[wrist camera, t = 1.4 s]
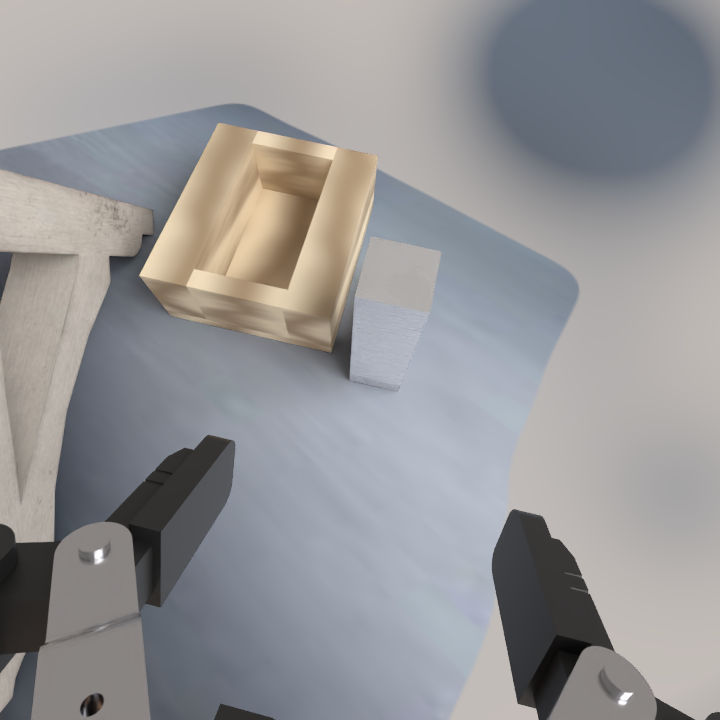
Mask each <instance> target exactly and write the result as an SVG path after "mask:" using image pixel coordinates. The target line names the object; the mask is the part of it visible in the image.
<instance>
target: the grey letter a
mask: <svg viewBox="0 0 720 720" xmlns="http://www.w3.org/2000/svg"><path fill="white" fill-rule="evenodd" d="M153 234H154V221H153V210H150V209H147V208H143V207H139V206H136V205H132V204H128V203H124V202H121V201H117V200H113V199H110V198H106V197H102V196H99V195H95V194H91V193H87V192H84V191H80V190H76V189H73V188H69V187H65V186H61V185H58V184H54V183H50V182H47V181H43V180H39V179H36V178H32V177H28V176H24V175H21V174H17V173H13V172H10V171H6V170H2V169H0V252H13V255H12V261H11V267H10V271H9V275H8V278H7V282H6V285H5V289H4V292H3V296H2V299H1V303H0V524H4V525H6V526H8V527H10V528H11V529H12V530H13V532H14V533H15V539H16V543H26V542H54V516H55V486H56V479H57V473H58V466H59V460H60V453H61V447H62V440H63V434H64V427H65V421H66V414H67V409H68V406H69V402H70V399H71V395H72V392H73V388H74V385H75V381H76V378H77V374H78V371H79V367H80V364H81V361H82V357H83V354H84V350H85V347H86V343H87V340H88V337H89V334H90V332H91V329H92V327H93V324H94V322H95V320H96V317H97V315H98V312H99V310H100V307H101V305H102V302H103V300H104V297H105V295H106V293H107V290H108V288H109V285H110V283H111V279H110V264H109V256H128V257H134V256H135V255H136V254H138V252H139V250H140V248H141V246H142V235H153ZM25 654H26V653H16V654H15V656H14V657H13V658H12V659H11V661H10V662H9V663H8V664H7V666H6V667H5V668H4V669H3V671H2V672H1V673H0V713H1V711H2V710H3V709H4V707H5V706H6V705H7V704H8V702H9V701H10V700H11V699H12V697H13V691H14V685H15V679H16V676H17V673H18V671H19V668H20V665H21V663H22V660H23V657H24V655H25Z"/></svg>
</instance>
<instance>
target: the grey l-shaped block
mask: <svg viewBox="0 0 720 720" xmlns="http://www.w3.org/2000/svg"><path fill="white" fill-rule="evenodd" d="M440 257H441V251H436V250H431V249H427V248H422V247H418V246H413V245H408V244H404V243H399V242H394V241H390V240H385V239H380V238H376V237H371V238H370V242H369V246H368V249H367V253H366V257H365V260H364V264H363V268H362V271H361V275H360V279H359V282H358V286H357V290H356V293H355V298H354V314H353V331H352V347H351V363H350V379H349V381H354V382H358V383H362V384H366V385H371V386H375V387H379V388H384V389H388V390H392V391H397V392H398V390H399V387H400V385H401V383H402V380H403V378H404V375H405V373H406V370H407V368H408V365H409V363H410V361H411V358H412V356H413V353H414V351H415V348H416V346H417V344H418V341H419V339H420V336H421V334H422V331H423V329H424V326H425V324H426V322H427V319H428V317H429V314H430V310H431V305H432V299H433V294H434V289H435V283H436V278H437V273H438V267H439V262H440Z"/></svg>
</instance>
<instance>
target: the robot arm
mask: <svg viewBox="0 0 720 720" xmlns="http://www.w3.org/2000/svg"><path fill="white" fill-rule="evenodd" d="M234 455H235V442H234V441H232V440H228V439H224V438H220V437H216V436H211V435H207V436H206V437H205V438H204V439H203V440H202V441H201V443H200V444H199V445H198V446H197V447H196V448H195V449H194V450H192V449H188V448H183V449H182V450H180V451H178V452H176V453H174V454H172V455H170V456H168V457H167V458H166V459H165V460H164V461H163V462H162V463H161V464H160V465H159V466H158V467H157V468H156V470H155V472H154V471H153V472H152V473H151V474H150V475H149V476H148V477H147V479H146V481H145V482H143V483H142V484H141V485H140V486H139V487H138V488H137V489H136V490H135V491H134V492H133V493H132V494H131V495H130V496H129V497H128V498H127V499H126V500H125V501H124V502H123V503H122V504H121V505H120V506H119V508H118V509H117V510H116V511H115V512H114V513H113V514H112V515H111V516H110V517H109V518H108V519H107V520H106V521H105V522H99V523H93V524H90V525H86V526H84V527H81V528H79V529H77V530H75V531H74V532H72V533H70V534H69V535H68V536H67V537H65V538H64V539H63V540H62V541H56V542H26V543H16V539H15V533H14V532H13V530H12V529H11V528H10V527H8V526H6V525H4V524H0V673H1V672H2V671H3V669H4V668H5V667H6V666H7V664H8V663H9V662H10V661H11V659H12V658H13V657H14V656H15V654H16V653H26V652H37V651H39V655H38V662H37V670H36V680H35V689H34V698H33V707H32V716H31V720H150V709H149V699H148V688H147V677H146V667H145V656H144V645H143V634H142V624H141V616H140V614H139V612H140V611H141V609H142V608H143V606H144V605H145V603H146V604H150V605H154V606H157V607H161V606H162V604H163V603H164V601H165V600H166V598H167V596H168V595H169V593H170V592H171V590H172V588H173V587H174V585H175V584H176V582H177V580H178V579H179V577H180V576H181V574H182V572H183V571H184V569H185V568H186V566H187V565H188V563H189V561H190V560H191V558H192V557H193V555H194V553H195V552H196V550H197V549H198V547H199V545H200V544H201V542H202V541H203V539H204V537H205V536H206V534H207V533H208V531H209V530H210V528H211V526H212V525H213V523H214V522H215V520H216V518H217V517H218V515H219V514H220V512H221V510H222V509H223V507H224V506H225V504H226V502H227V499H228V497H229V494H230V491H231V486H232V478H233V467H234ZM492 574H493V579H494V584H495V590H496V595H497V600H498V605H499V610H500V615H501V620H502V625H503V630H504V636H505V641H506V646H507V650H508V656H509V661H510V666H511V671H512V676H513V681H514V686H515V691H516V697H517V702H518V704H521V705H525V706H529V707H533V708H536V709H537V713H538V718H539V720H695V719H693V718H691V717H689V716H687V715H686V714H684V713H682V712H680V711H678V710H677V709H675V708H673V707H671V706H669V705H668V704H666V703H664V702H662V701H661V700H659V699H657V698H656V697H654V694H653V692H652V690H651V688H650V686H649V685H648V683H647V681H646V680H645V678H644V677H643V676H642V675H641V673H640V672H639V671H638V670H637V669H636V668H635V667H634V666H633V665H632V664H631V663H630V662H629V661H627V660H626V659H625V658H623V657H622V656H620V655H619V654H617V653H616V652H615V651H614V649H613V646H612V644H611V642H610V639H609V637H608V635H607V633H606V630H605V628H604V626H603V623H602V621H601V619H600V616H599V614H598V612H597V609H596V607H595V605H594V602H593V600H592V598H591V595H590V594H588V589H587V586H586V584H585V581H584V579H582V575H581V572H580V570H579V568H578V565H577V563H576V561H575V558H574V557H573V555H572V554H571V553H570V552H569V551H568V549H567V548H566V547H565V546H564V545H563V543H562V542H561V541H560V540H558V539H554V538H551V535H550V533H549V530H548V528H547V525H546V523H545V520H544V519H543V517H542V516H540V515H535V514H531V513H527V512H523V511H519V510H515V509H514V510H512V511H511V512H510V514H509V516H508V518H507V521H506V523H505V525H504V528H503V530H502V533H501V535H500V537H499V540H498V542H497V544H496V547H495V549H494V553H493V558H492ZM214 720H274V719H273V718H271V717H267V716H263V715H260V714H256V713H252V712H249V711H245V710H241V709H238V708H234V707H230V706H227V705H223V704H220V706H219V709H218V711H217V714H216V716H215V719H214ZM705 720H720V712H715V713H712V714H710V715H709V716H708V717H707V718H706V719H705Z"/></svg>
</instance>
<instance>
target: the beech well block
mask: <svg viewBox="0 0 720 720" xmlns="http://www.w3.org/2000/svg"><path fill="white" fill-rule="evenodd" d="M377 157H378V156H377V155H372V154H367V153H362V152H358V151H353V150H348V149H343V148H338V147H333V146H329V145H324V144H319V143H314V142H309V141H304V140H300V139H295V138H290V137H285V136H280V135H275V134H270V133H266V132H261V131H256V130H251V129H246V128H241V127H237V126H232V125H227V124H222V123H218V125H217V127H216V129H215V131H214V133H213V135H212V136H211V138H210V140H209V142H208V144H207V146H206V148H205V150H204V152H203V154H202V156H201V158H200V160H199V161H198V163H197V165H196V167H195V169H194V171H193V173H192V175H191V177H190V179H189V181H188V183H187V185H186V186H185V188H184V190H183V192H182V194H181V196H180V198H179V200H178V202H177V204H176V206H175V208H174V210H173V211H172V213H171V215H170V217H169V219H168V221H167V223H166V225H165V227H164V229H163V231H162V233H161V234H160V236H159V238H158V240H157V242H156V244H155V246H154V248H153V250H152V252H151V254H150V256H149V258H148V259H147V261H146V263H145V265H144V267H143V269H142V271H141V273H140V275H139V276H140V277H141V279H142V280H143V281H144V282H145V284H146V285H147V286H148V288H149V289H150V290H151V291H152V293H153V294H154V295H155V296H156V298H157V299H158V300H159V302H160V303H161V304H162V305H163V307H164V308H165V309H166V311H167V312H168V313H169V314H170V316H173V317H177V318H182V319H186V320H191V321H195V322H199V323H204V324H208V325H212V326H217V327H221V328H225V329H230V330H234V331H238V332H243V333H247V334H251V335H256V336H260V337H265V338H269V339H273V340H278V341H282V342H286V343H291V344H295V345H299V346H304V347H308V348H312V349H317V350H321V351H325V352H330V353H332V350H333V346H334V343H335V339H336V335H337V332H338V328H339V325H340V321H341V318H342V314H343V311H344V307H345V303H346V300H347V296H348V293H349V289H350V286H351V282H352V278H353V275H354V271H355V268H356V264H357V261H358V257H359V254H360V250H361V246H362V243H363V239H364V236H365V232H366V229H367V225H368V221H369V218H370V214H371V211H372V207H373V198H374V188H375V178H376V168H377Z"/></svg>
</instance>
